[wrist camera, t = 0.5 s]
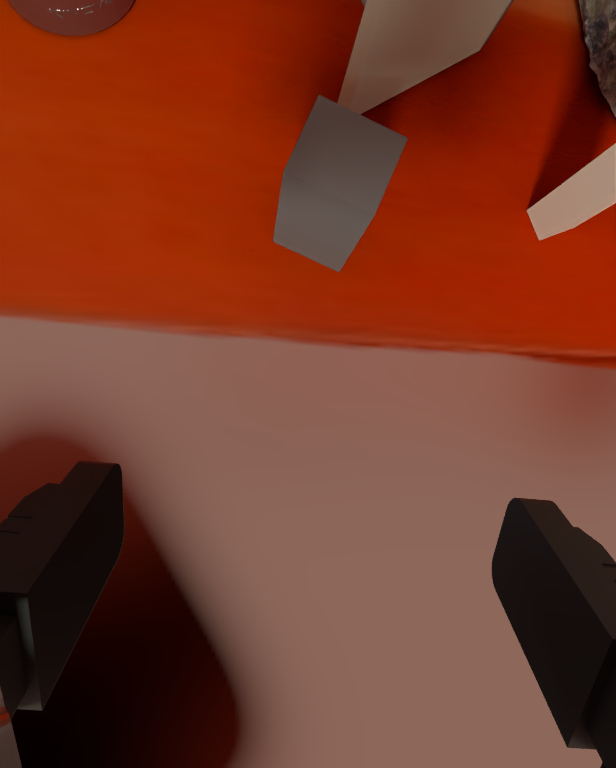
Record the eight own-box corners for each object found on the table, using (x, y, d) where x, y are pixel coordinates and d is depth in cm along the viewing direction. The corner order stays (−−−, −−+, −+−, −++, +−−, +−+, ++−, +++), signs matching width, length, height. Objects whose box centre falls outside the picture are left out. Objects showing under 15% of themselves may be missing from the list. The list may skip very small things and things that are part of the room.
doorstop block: (339, 272, 36) (374, 215, 26) (272, 241, 36) (283, 171, 26) (363, 215, 36) (407, 138, 27) (298, 184, 36) (319, 94, 26)
